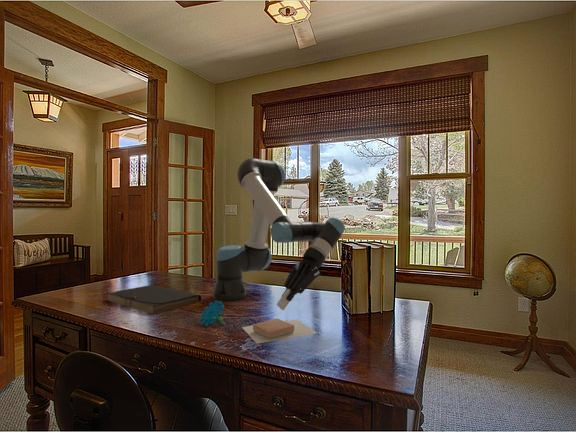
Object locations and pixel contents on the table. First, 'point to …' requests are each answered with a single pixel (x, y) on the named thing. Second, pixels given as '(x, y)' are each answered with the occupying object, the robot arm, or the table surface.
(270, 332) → the tile
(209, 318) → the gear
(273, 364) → the table surface
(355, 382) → the table surface
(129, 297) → the dark hardcover book
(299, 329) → the felt mat
